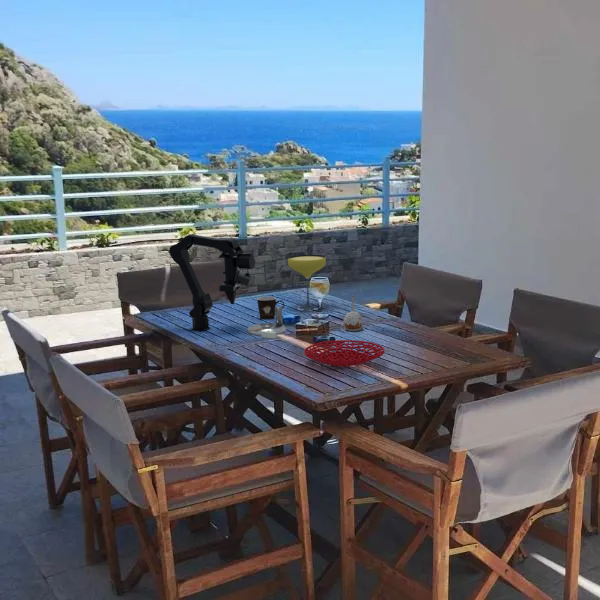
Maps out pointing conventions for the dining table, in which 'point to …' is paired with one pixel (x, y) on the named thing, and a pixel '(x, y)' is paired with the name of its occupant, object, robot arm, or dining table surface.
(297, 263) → the cocktail glass
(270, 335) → the base plate
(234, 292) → the robot arm
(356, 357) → the bowl
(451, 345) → the dining table surface
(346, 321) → the decorative ornament
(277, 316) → the turntable platter
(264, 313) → the coffee mug
